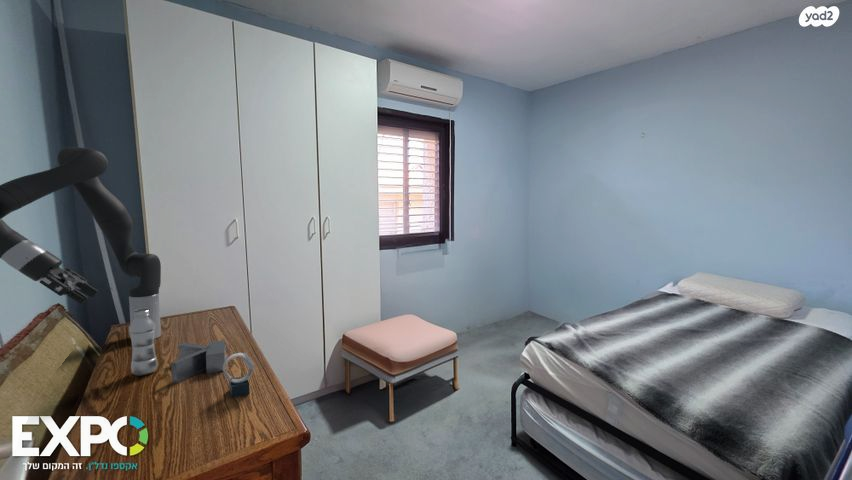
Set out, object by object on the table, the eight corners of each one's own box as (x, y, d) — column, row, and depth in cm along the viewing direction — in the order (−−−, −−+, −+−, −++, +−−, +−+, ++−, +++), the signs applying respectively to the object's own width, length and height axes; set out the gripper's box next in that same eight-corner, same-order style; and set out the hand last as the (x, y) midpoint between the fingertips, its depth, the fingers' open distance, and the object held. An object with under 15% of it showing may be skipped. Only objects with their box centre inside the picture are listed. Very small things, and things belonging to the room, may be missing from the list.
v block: (179, 360, 122) (179, 343, 122) (226, 353, 128) (225, 336, 128) (171, 384, 106) (170, 364, 105) (224, 374, 112) (224, 356, 112)
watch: (257, 391, 102) (256, 354, 102) (224, 400, 98) (223, 360, 97) (253, 383, 107) (252, 347, 106) (222, 391, 102) (221, 353, 101)
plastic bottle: (143, 379, 109) (140, 314, 107) (125, 376, 110) (121, 312, 108) (163, 370, 115) (160, 308, 113) (145, 367, 116) (142, 306, 114)
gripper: (32, 253, 93) (93, 292, 99) (56, 247, 106) (109, 283, 112) (4, 274, 91) (68, 314, 97) (32, 266, 104) (87, 301, 110)
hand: (90, 297), depth 105 cm, fingers open, 8 cm apart
